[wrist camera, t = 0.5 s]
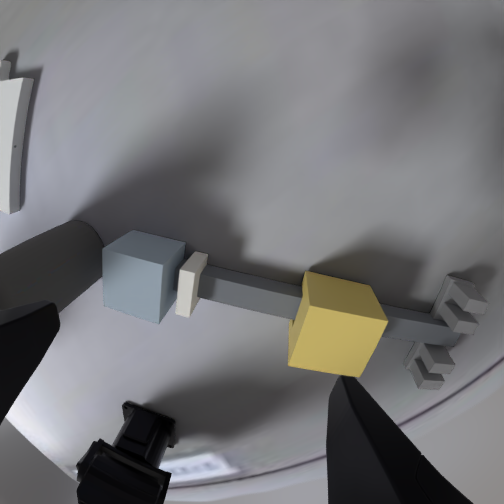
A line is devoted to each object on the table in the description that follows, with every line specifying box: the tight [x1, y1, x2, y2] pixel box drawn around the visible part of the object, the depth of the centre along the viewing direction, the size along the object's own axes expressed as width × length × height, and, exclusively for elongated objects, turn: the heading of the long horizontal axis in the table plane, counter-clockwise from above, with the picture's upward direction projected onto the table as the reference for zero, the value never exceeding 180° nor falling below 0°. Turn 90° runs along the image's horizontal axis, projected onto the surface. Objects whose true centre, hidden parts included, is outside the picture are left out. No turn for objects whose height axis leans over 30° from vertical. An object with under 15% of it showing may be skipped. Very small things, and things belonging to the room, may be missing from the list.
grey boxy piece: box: [403, 275, 489, 390], centre depth 20 cm, size 3×9×4 cm, turn 168°
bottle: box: [0, 221, 104, 313], centre depth 16 cm, size 6×6×15 cm
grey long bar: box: [102, 230, 461, 347], centre depth 20 cm, size 28×4×4 cm, turn 78°
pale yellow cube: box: [288, 271, 388, 377], centre depth 19 cm, size 5×5×5 cm
